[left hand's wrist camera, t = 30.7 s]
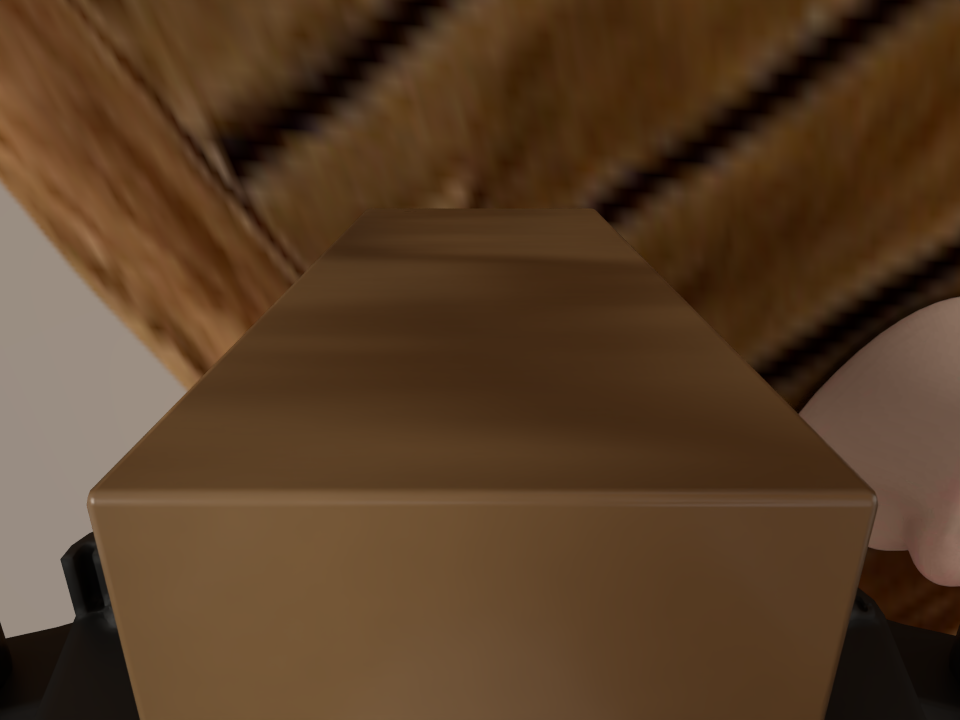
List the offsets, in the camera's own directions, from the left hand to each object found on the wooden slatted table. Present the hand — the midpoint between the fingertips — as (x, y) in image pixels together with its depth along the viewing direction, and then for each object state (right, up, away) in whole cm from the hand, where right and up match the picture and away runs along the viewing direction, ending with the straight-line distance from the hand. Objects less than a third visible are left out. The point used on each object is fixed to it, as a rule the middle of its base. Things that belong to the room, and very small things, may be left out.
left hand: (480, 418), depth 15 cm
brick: (0, +1, +2) cm, 2 cm away
